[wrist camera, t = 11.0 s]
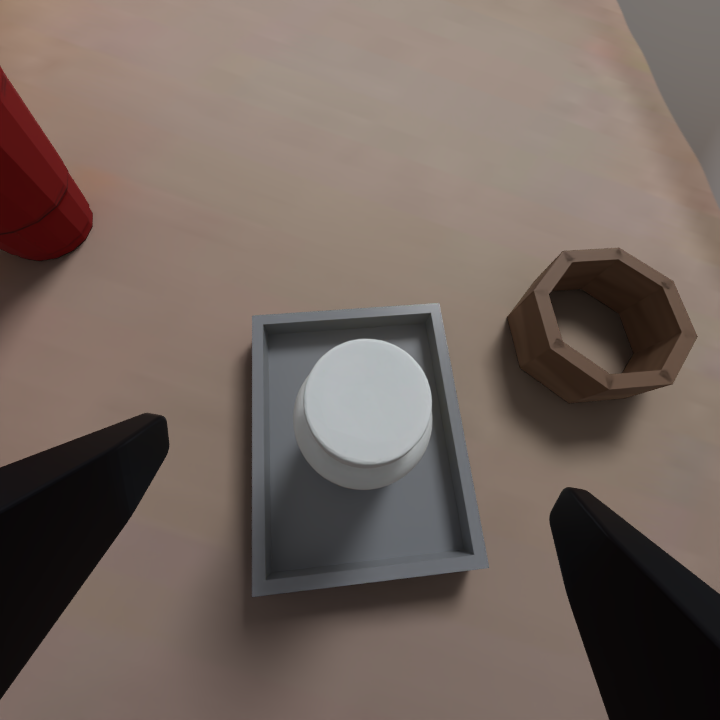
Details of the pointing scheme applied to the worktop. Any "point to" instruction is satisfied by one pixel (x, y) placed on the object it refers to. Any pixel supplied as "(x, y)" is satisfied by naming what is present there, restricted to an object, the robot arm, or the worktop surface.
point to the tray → (344, 505)
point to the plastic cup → (35, 187)
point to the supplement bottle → (364, 414)
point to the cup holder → (637, 312)
